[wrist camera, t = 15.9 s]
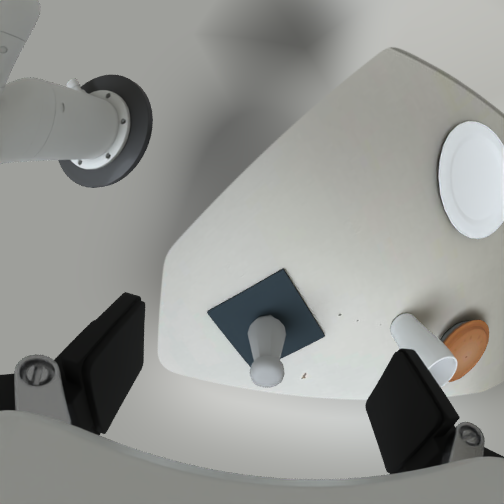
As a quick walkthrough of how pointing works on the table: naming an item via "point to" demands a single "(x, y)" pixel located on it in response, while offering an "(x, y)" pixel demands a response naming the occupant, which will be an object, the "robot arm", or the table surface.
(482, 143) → the plate
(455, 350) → the pie
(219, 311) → the mat
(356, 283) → the table surface
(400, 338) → the drinking glass
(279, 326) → the salt shaker
